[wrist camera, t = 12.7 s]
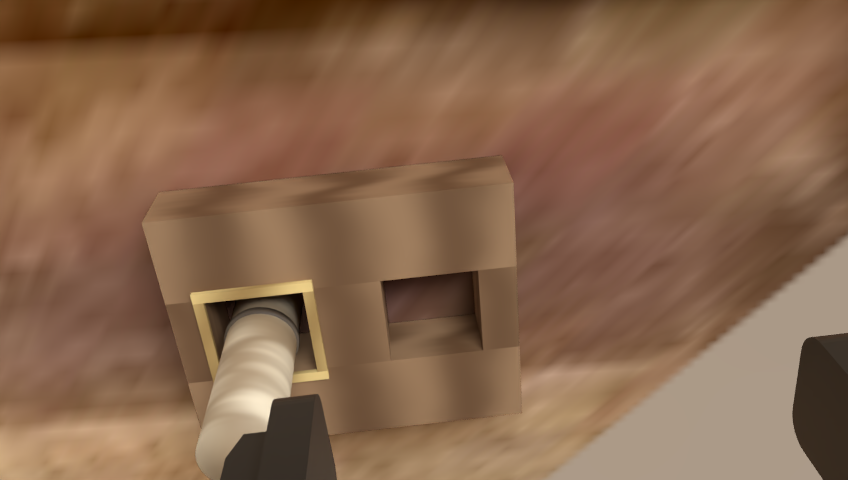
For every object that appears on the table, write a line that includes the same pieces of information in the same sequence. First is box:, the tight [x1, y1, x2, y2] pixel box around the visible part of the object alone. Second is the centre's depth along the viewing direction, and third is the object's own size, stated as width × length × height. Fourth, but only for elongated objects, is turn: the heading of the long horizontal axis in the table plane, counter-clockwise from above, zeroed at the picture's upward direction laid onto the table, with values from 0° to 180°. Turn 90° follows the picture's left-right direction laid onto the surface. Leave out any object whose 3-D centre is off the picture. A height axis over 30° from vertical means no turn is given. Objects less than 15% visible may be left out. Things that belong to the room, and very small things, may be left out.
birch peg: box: [195, 293, 303, 480], centre depth 43 cm, size 4×4×14 cm
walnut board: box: [142, 155, 522, 435], centre depth 47 cm, size 20×16×4 cm
